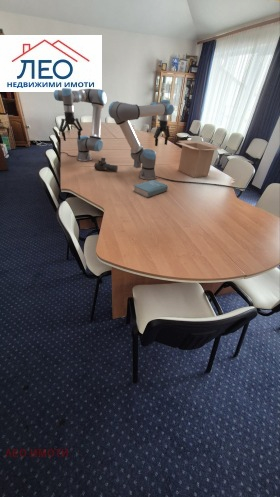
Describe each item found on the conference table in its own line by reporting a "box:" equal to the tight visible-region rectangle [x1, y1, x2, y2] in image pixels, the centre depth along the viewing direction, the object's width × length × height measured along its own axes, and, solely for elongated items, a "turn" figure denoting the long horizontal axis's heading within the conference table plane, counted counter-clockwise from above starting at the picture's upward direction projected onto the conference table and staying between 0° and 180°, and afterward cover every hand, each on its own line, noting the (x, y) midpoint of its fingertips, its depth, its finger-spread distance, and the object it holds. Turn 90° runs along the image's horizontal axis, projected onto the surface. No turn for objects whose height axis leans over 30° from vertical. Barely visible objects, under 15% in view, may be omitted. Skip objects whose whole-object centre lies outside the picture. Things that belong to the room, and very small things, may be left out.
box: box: [176, 139, 222, 179], centre depth 217 cm, size 44×36×27 cm
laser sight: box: [93, 157, 119, 173], centre depth 211 cm, size 10×22×10 cm, turn 78°
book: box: [133, 179, 169, 198], centre depth 177 cm, size 23×16×5 cm
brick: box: [133, 160, 142, 169], centre depth 228 cm, size 5×6×9 cm
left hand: (72, 140), depth 192 cm, fingers open, 13 cm apart
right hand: (160, 145), depth 214 cm, fingers open, 13 cm apart
